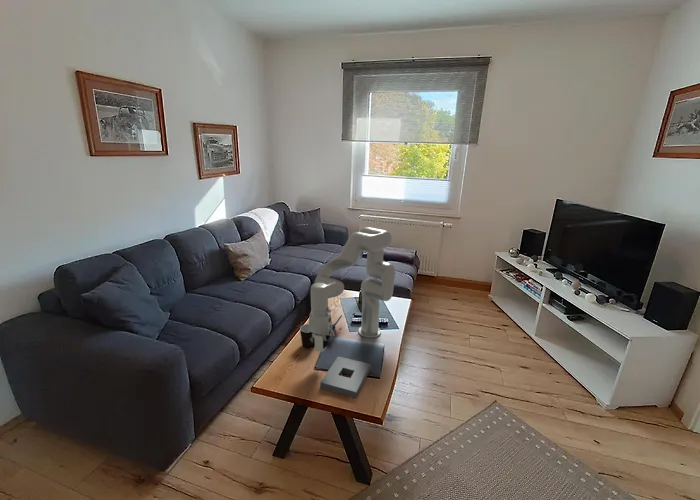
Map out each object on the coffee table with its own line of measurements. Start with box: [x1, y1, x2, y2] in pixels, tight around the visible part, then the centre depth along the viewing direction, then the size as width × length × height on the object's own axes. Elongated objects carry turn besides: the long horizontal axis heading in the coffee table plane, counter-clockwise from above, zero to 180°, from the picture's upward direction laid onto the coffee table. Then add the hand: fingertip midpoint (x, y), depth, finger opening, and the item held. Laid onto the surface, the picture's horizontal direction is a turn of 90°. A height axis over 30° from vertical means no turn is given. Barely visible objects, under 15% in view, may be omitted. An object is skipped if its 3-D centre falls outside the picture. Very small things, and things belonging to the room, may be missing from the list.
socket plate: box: [319, 356, 371, 399], centre depth 147 cm, size 20×16×3 cm
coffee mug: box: [299, 323, 315, 350], centre depth 170 cm, size 12×9×10 cm
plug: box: [314, 334, 327, 353], centre depth 153 cm, size 4×4×8 cm
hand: (320, 345), depth 153 cm, fingers closed on plug, 4 cm apart
